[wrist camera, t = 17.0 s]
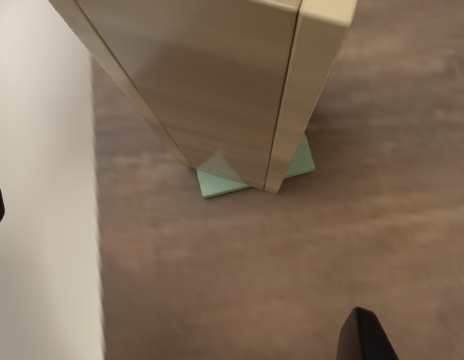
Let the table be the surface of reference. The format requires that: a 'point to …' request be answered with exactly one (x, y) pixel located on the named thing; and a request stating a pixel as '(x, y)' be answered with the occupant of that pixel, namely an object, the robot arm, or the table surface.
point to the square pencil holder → (218, 73)
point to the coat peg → (220, 185)
